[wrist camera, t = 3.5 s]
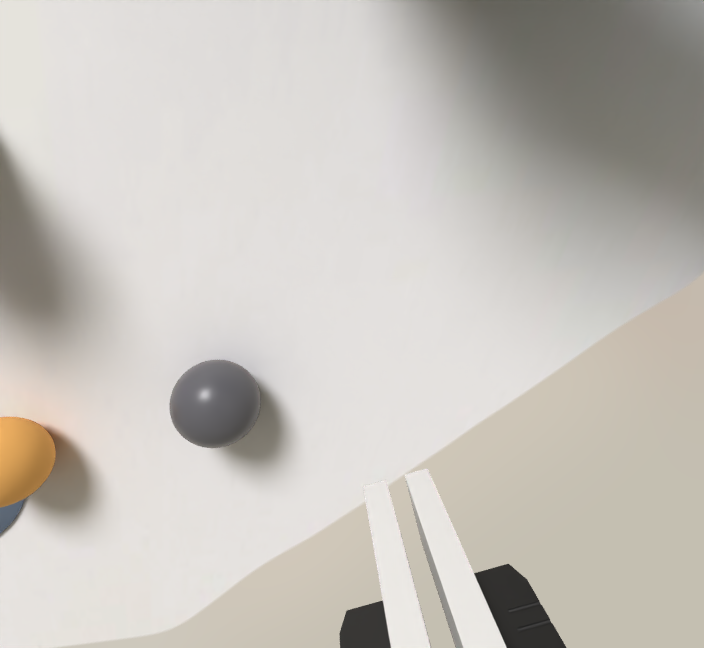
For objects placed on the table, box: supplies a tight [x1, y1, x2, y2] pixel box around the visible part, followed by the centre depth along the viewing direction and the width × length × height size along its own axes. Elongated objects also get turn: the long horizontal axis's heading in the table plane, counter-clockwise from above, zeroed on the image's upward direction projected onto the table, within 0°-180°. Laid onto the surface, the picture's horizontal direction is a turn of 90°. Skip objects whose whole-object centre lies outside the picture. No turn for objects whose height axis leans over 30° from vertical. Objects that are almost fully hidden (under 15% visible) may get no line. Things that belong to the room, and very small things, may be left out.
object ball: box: [0, 417, 56, 507], centre depth 26 cm, size 6×6×6 cm
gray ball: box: [170, 360, 261, 448], centre depth 26 cm, size 6×6×6 cm
